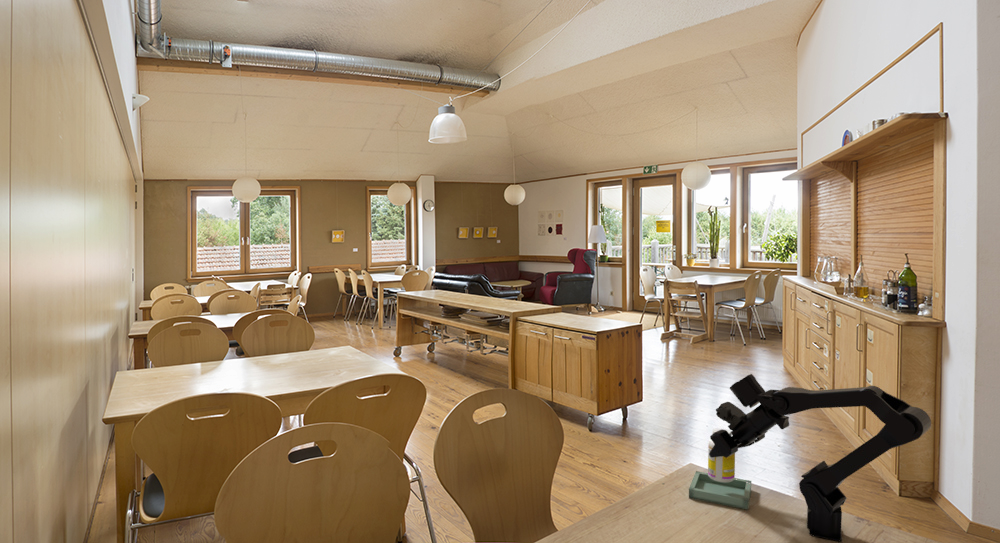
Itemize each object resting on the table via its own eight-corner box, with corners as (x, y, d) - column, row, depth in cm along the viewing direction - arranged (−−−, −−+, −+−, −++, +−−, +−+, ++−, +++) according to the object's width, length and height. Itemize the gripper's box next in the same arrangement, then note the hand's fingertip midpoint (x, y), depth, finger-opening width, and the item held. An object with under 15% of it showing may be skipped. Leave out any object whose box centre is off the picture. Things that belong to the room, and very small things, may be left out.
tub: (751, 489, 156) (751, 480, 156) (747, 509, 145) (748, 500, 145) (695, 479, 162) (696, 471, 162) (688, 498, 151) (688, 488, 151)
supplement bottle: (737, 477, 154) (738, 430, 153) (731, 485, 148) (732, 437, 148) (711, 471, 158) (712, 425, 157) (704, 479, 152) (705, 431, 151)
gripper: (754, 388, 154) (715, 418, 164) (717, 402, 142) (678, 434, 152) (783, 424, 149) (742, 453, 158) (748, 441, 137) (705, 472, 146)
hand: (717, 452), depth 154 cm, fingers closed on supplement bottle, 7 cm apart
